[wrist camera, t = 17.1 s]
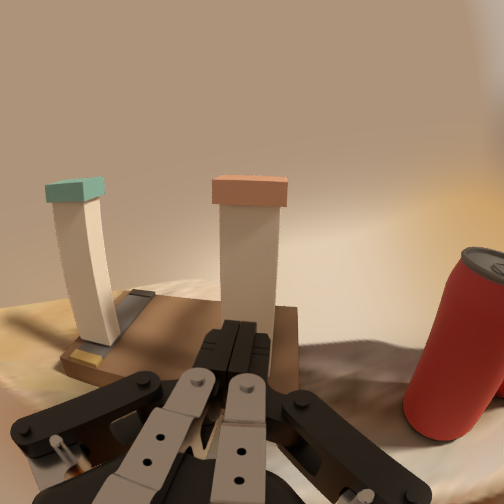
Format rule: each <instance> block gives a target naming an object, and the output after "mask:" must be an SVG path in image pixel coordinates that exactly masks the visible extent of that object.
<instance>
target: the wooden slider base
mask: <svg viewBox="0 0 504 504" xmlns="http://www.w3.org/2000/svg"><path fill="white" fill-rule="evenodd" d="M114 306H115V310H116V315H117V320H118V324H119V328H120V335H119V336H118V337H117V338H116V340H115V341H114V342H113V343H112V345H111V346H108V345H104V344H100V343H96V342H92V341H88V340H84V339H81V337H80V336H79V337H78V338H77V339H76V340H75V341H74V343H73V344H72V345H71V346H70V347H69V348H68V349H67V350H66V351H65V352H64V353H63V354H62V355H61V356H60V359H61V362H62V364H63V367H64V369H65V371H66V374H67V376H69V377H72V378H75V379H78V380H81V381H83V382H86V383H89V384H93V385H96V386H99V387H103V386H106V385H108V384H111V383H113V382H115V381H118V380H120V379H122V378H125V377H127V376H129V375H131V374H134V373H136V372H139V371H151V372H154V373H156V374H157V375H158V376H159V378H160V380H161V381H163V380H176V379H180V377H181V375H182V374H183V373H184V372H185V371H187V370H189V369H192V367H193V364H194V362H195V359H196V357H197V355H198V352H199V350H200V348H201V345H202V343H203V340H204V338H205V335H206V334H207V333H208V332H210V331H211V330H212V329H221V328H222V319H221V301H210V300H200V299H190V298H180V297H171V296H163V295H155V292H153V291H145V290H137V289H133V290H132V291H131V292H130V291H124V292H123V293H122V294H121V295H120V296H119V297H118V298H117V299H116V300H115V301H114ZM267 382H268V384H269V386H270V387H271V388H272V389H274V390H275V391H277V392H279V393H282V394H285V395H287V394H288V393H290V392H292V391H296V390H299V352H298V315H297V307H286V306H275V314H274V328H273V342H272V355H271V365H270V375H269V377H268V380H267ZM225 410H226V409H222V408H221V412H220V414H225Z"/></svg>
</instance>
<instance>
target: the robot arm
mask: <svg viewBox="0 0 504 504" xmlns="http://www.w3.org/2000/svg"><path fill="white" fill-rule="evenodd" d="M270 346H271V340H270V338H269V336H268V334H267V333H257V322H249V321H237V320H226V319H225V320H224V323H223V325H222V328H221V329H212V330H211V331H210V332H208V333H207V334H206V335H205V338H204V340H203V343H202V345H201V348H200V350H199V352H198V355H197V357H196V359H195V362H194V364H193V367H192V369H189V370H187V371H185V372H184V373H183V374H182V375H181V377H180V379H176V380H163V381H161V380H160V378H159V376H158V375H157V374H156V373H154V372H151V371H139V372H136V373H134V374H131V375H129V376H127V377H125V378H122V379H120V380H118V381H115V382H113V383H111V384H108V385H106V386H103V387H101V388H99V389H96V390H94V391H91V392H89V393H87V394H84V395H82V396H79V397H77V398H74V399H71V400H69V401H66V402H64V403H61V404H59V405H56V406H53V407H51V408H48V409H45V410H43V411H40V412H37V413H34V414H32V415H29V416H26V417H23V418H21V419H18V420H17V421H16V422H15V423H14V424H13V425H12V427H11V432H10V433H11V437H12V439H13V441H14V442H15V443H16V444H17V445H18V447H19V448H20V449H21V451H22V452H23V454H24V455H25V456H26V457H27V458H28V461H29V464H30V467H31V469H32V472H33V475H34V477H35V480H36V483H37V485H38V487H39V490H40V493H39V494H38V495H37V496H36V497H35V498H34V501H33V502H32V504H305V503H304V501H303V500H302V499H301V498H300V497H299V496H298V495H297V494H296V492H295V491H294V490H293V489H292V488H291V487H290V485H289V484H288V483H287V482H285V481H284V480H283V479H282V478H280V477H279V476H278V475H276V474H274V473H272V472H270V471H267V470H266V440H268V441H271V442H274V443H277V446H278V448H279V449H280V451H281V452H282V453H283V454H284V455H285V456H286V457H287V458H288V459H289V460H290V461H291V463H292V464H293V465H294V466H295V467H296V468H297V469H298V470H299V471H300V472H301V473H302V474H303V475H304V476H305V477H306V478H307V479H308V480H309V481H310V482H311V483H312V484H313V485H314V486H315V487H316V488H317V489H318V490H319V491H320V492H321V493H322V494H323V495H324V496H325V497H326V498H327V499H328V500H329V501H330V502H331V503H332V504H430V503H431V500H432V491H431V489H430V487H429V486H428V485H427V484H426V483H425V482H424V481H422V480H421V479H420V478H418V477H417V476H415V475H414V474H413V473H411V472H410V471H409V470H407V469H406V468H405V467H403V466H402V465H401V464H399V463H398V462H397V461H395V460H394V459H393V458H392V457H390V456H389V455H388V454H386V453H385V452H384V451H383V450H381V449H380V448H379V447H377V446H376V445H375V444H374V443H372V442H371V441H370V440H369V439H367V438H366V437H365V436H364V435H362V434H361V433H360V432H359V431H358V430H356V429H355V428H354V427H353V426H352V425H350V424H349V423H348V422H347V421H346V420H344V419H343V418H342V417H341V416H340V415H338V414H337V413H336V412H335V411H334V410H333V409H331V408H330V407H329V406H328V405H327V404H326V403H324V402H323V401H322V400H321V399H320V398H319V397H317V396H316V395H315V394H314V393H312V392H309V391H306V390H296V391H292V392H290V393H288V394H287V395H285V394H282V393H279V392H277V391H275V390H274V389H272V388H271V387H270V386H269V384H268V382H267V380H268V371H269V360H270ZM221 408H222V409H226V410H225V417H224V421H222V424H221V429H220V436H219V443H218V450H217V457H216V459H208V460H206V456H207V453H208V450H209V448H210V445H211V442H212V440H213V437H214V434H215V431H216V429H217V426H218V423H219V415H220V412H221ZM135 410H136V411H137V412H136V413H133V414H131V415H129V416H127V417H125V418H123V419H121V420H118V421H116V422H114V423H112V424H111V422H112V421H114V420H116V419H118V418H120V417H123V416H125V415H127V414H129V413H131V412H133V411H135ZM128 451H129V452H128ZM104 462H105V463H104ZM102 463H103V464H102ZM100 464H101V465H100ZM97 465H99V466H97ZM95 466H97V467H95ZM93 467H94V468H93ZM91 468H92V469H91Z"/></svg>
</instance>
